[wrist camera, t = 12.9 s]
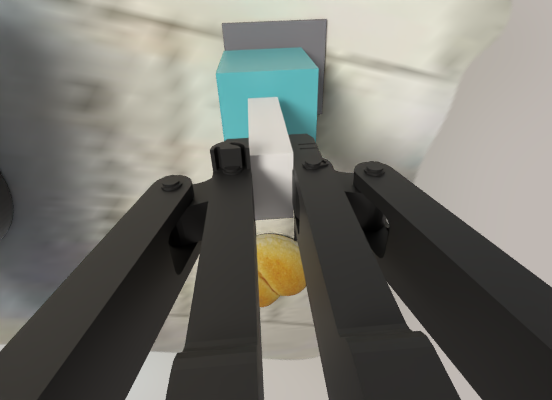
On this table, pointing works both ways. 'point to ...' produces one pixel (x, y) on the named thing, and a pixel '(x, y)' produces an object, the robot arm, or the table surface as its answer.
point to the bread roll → (278, 268)
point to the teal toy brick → (268, 88)
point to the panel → (281, 40)
